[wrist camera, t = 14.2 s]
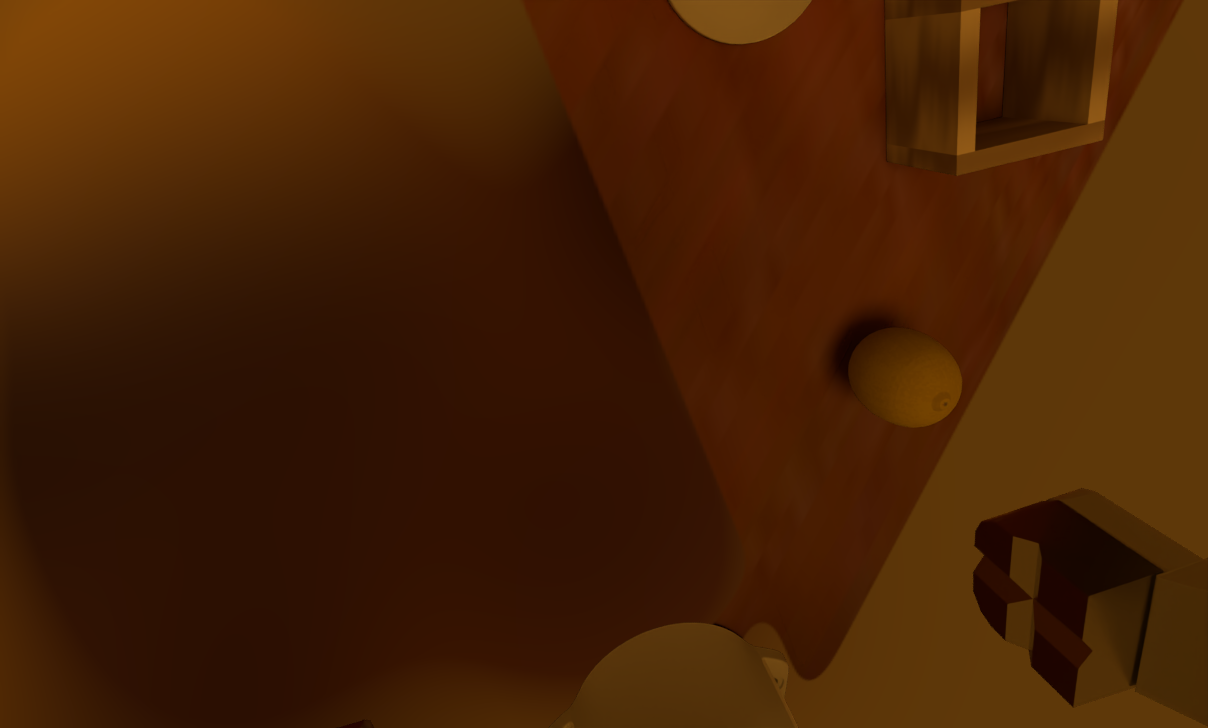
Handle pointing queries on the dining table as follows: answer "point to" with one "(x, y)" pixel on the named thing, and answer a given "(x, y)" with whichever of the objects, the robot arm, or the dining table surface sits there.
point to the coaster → (738, 18)
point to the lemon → (905, 377)
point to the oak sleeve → (1031, 82)
